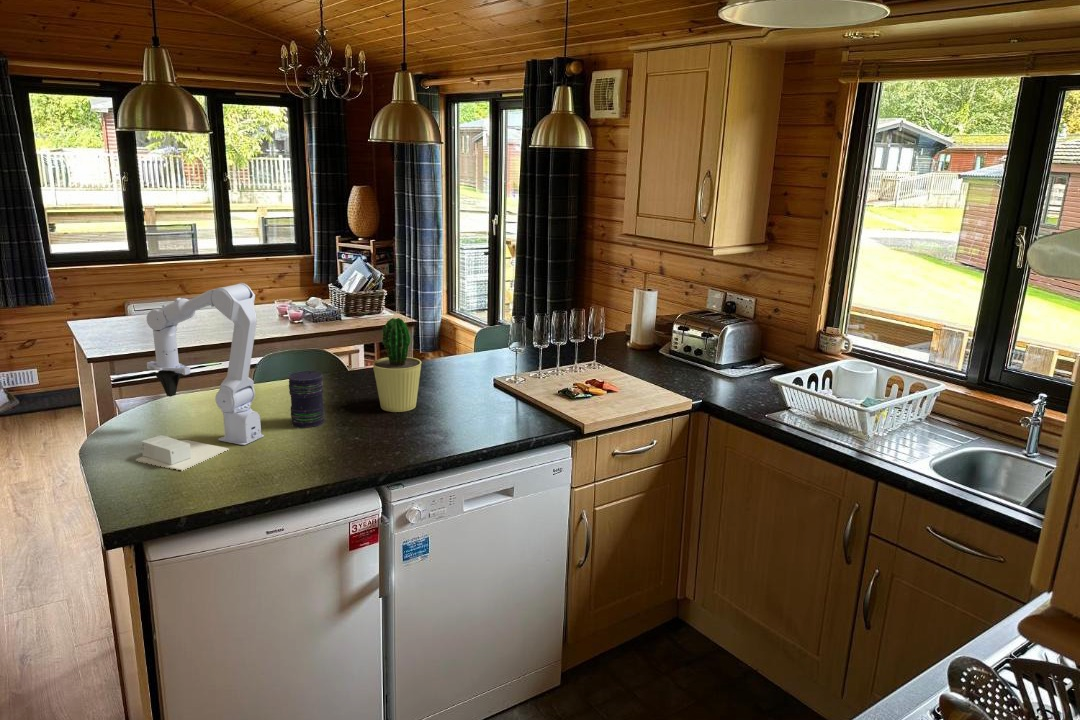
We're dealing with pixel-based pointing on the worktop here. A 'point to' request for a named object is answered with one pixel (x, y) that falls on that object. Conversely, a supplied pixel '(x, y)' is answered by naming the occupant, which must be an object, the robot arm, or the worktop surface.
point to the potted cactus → (397, 370)
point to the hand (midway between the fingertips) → (171, 395)
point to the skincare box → (166, 449)
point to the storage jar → (306, 399)
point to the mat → (198, 455)
